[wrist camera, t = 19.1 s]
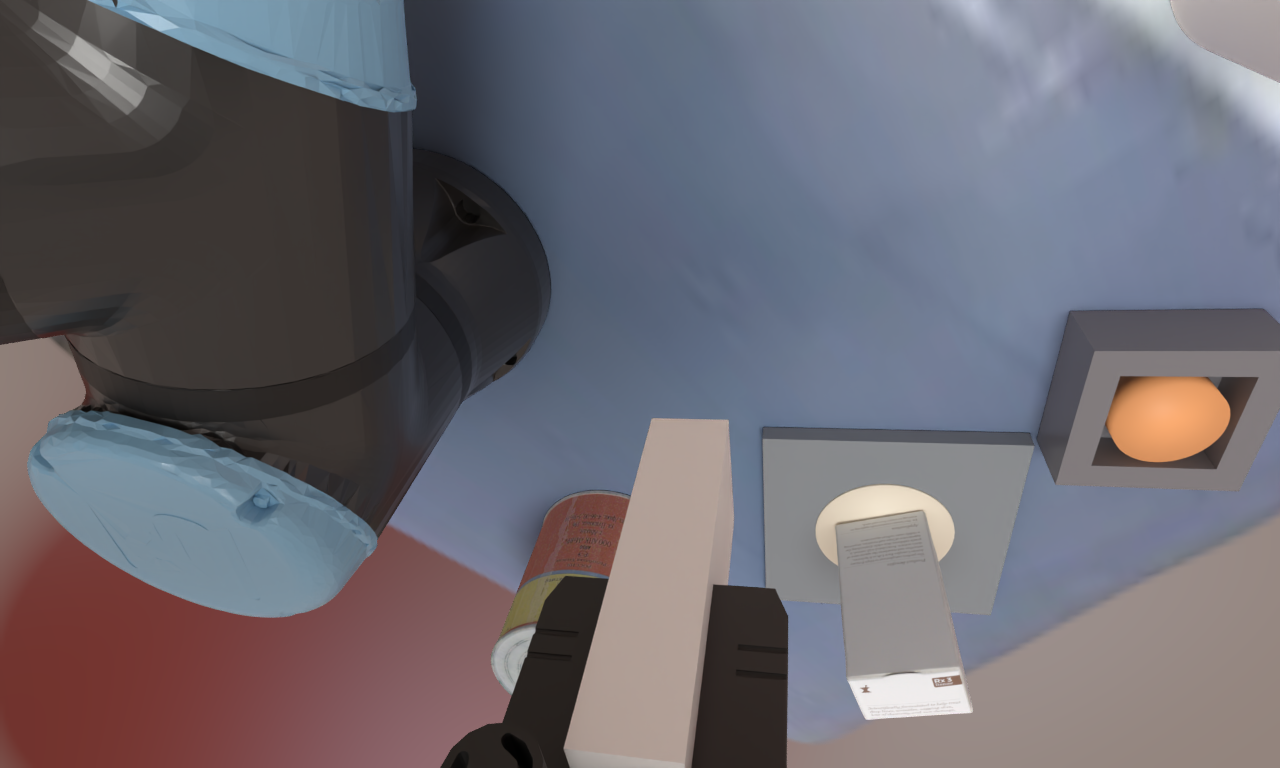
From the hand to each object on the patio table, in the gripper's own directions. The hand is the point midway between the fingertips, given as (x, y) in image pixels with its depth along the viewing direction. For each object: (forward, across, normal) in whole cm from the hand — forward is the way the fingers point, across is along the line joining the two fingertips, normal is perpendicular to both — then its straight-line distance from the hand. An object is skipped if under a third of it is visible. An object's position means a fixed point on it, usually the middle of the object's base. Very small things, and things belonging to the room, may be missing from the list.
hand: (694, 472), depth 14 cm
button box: (+26, +21, -16) cm, 37 cm away
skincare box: (+25, +8, -28) cm, 39 cm away
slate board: (+26, +8, -28) cm, 39 cm away
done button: (+25, +21, -16) cm, 36 cm away
